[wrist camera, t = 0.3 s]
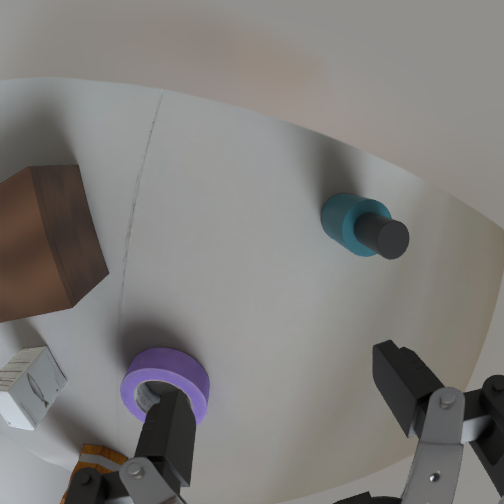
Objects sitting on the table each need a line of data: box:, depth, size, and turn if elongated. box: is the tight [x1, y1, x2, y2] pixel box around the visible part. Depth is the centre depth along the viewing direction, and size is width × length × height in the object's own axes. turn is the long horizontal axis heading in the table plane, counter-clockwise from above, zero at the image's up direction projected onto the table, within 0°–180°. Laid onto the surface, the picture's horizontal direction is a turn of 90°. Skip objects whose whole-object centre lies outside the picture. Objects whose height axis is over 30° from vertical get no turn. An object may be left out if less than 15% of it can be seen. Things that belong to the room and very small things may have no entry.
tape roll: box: [120, 347, 210, 426], centre depth 36 cm, size 12×12×5 cm
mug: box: [60, 444, 129, 504], centre depth 37 cm, size 20×14×15 cm
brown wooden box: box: [0, 165, 109, 323], centre depth 27 cm, size 14×16×10 cm
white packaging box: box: [0, 346, 67, 430], centre depth 31 cm, size 7×7×13 cm
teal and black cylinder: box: [321, 194, 409, 260], centre depth 28 cm, size 6×6×12 cm
